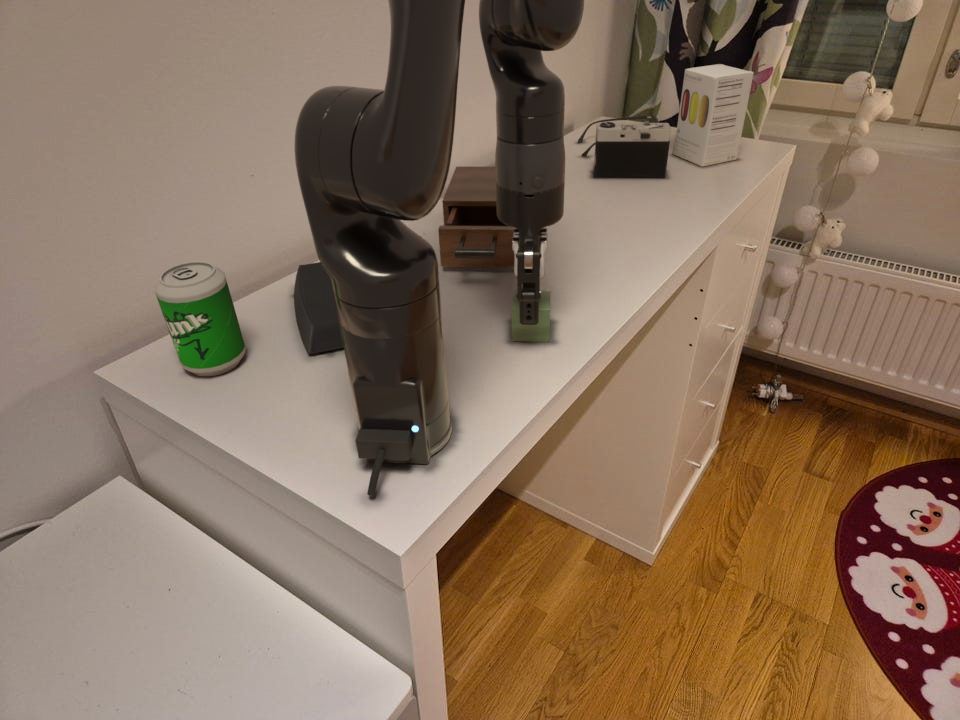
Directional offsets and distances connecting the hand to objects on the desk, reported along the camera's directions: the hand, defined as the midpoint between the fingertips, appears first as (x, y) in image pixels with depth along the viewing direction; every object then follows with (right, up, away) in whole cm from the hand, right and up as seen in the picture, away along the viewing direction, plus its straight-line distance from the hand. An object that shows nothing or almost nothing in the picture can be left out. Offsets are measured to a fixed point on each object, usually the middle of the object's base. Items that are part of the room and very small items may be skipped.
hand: (529, 304), depth 81 cm
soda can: (-38, -7, -2) cm, 39 cm away
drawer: (-6, +9, +18) cm, 21 cm away
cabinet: (-4, +15, +28) cm, 33 cm away
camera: (+23, +30, +49) cm, 62 cm away
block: (0, -3, +1) cm, 4 cm away
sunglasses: (+24, +39, +61) cm, 76 cm away
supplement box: (+40, +35, +54) cm, 76 cm away
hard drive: (-24, 0, +7) cm, 25 cm away
